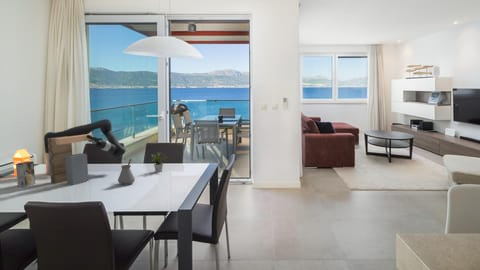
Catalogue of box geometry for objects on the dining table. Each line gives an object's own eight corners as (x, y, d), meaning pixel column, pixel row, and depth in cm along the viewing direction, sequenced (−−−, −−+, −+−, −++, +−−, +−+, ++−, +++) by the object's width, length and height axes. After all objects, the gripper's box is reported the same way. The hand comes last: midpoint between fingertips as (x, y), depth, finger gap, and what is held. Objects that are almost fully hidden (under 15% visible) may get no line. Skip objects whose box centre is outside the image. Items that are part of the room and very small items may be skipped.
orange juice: (31, 173, 276) (29, 148, 274) (23, 176, 267) (21, 150, 265) (22, 173, 277) (20, 148, 275) (14, 175, 269) (12, 150, 266)
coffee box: (28, 183, 246) (26, 161, 244) (35, 183, 244) (33, 161, 242) (17, 186, 237) (15, 163, 235) (25, 187, 235) (23, 164, 233)
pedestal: (67, 183, 243) (65, 156, 240) (82, 180, 253) (80, 153, 251) (73, 185, 239) (71, 156, 237) (88, 181, 250) (86, 154, 247)
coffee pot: (132, 185, 237) (131, 164, 235) (115, 186, 236) (114, 164, 234) (139, 178, 258) (138, 158, 256) (124, 178, 257) (123, 158, 255)
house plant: (156, 174, 268) (155, 154, 266) (145, 172, 276) (144, 152, 274) (170, 171, 279) (169, 151, 278) (159, 169, 288) (158, 149, 286)
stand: (51, 182, 246) (47, 138, 242) (69, 178, 258) (66, 136, 254) (55, 183, 243) (52, 139, 239) (74, 179, 255) (71, 136, 251)
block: (55, 144, 233) (55, 138, 232) (89, 139, 255) (89, 134, 254) (59, 144, 231) (58, 138, 230) (93, 139, 253) (92, 134, 252)
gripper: (99, 139, 268) (81, 130, 254) (111, 140, 260) (93, 131, 247) (95, 148, 265) (77, 139, 252) (107, 149, 258) (89, 141, 244)
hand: (85, 135), depth 249 cm, fingers closed on block, 4 cm apart
